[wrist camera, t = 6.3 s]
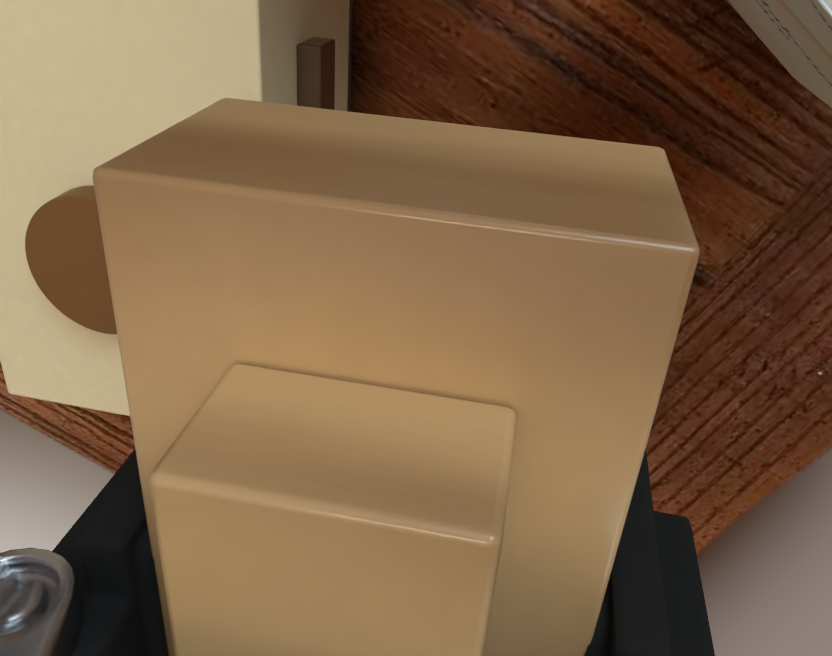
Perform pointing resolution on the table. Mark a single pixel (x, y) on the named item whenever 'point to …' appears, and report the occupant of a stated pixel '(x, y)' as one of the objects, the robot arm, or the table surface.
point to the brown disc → (72, 259)
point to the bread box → (128, 132)
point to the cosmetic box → (795, 38)
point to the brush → (388, 374)
